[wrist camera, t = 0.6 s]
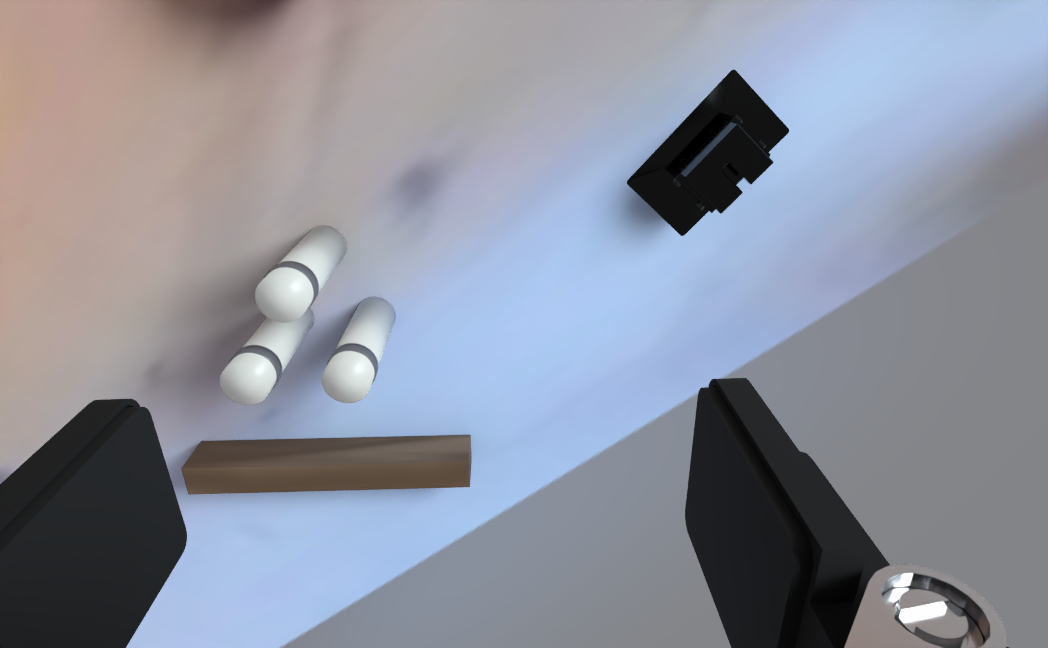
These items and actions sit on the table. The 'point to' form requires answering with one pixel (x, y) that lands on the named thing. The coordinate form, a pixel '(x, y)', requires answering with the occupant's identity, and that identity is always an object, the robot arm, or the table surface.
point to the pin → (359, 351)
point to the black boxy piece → (710, 155)
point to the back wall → (329, 464)
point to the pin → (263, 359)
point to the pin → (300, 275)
